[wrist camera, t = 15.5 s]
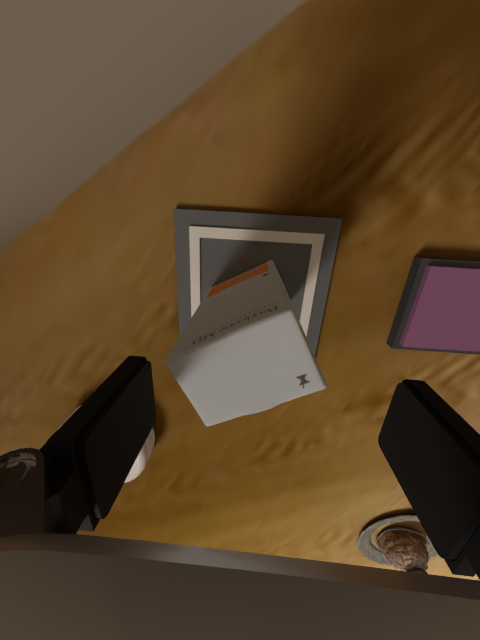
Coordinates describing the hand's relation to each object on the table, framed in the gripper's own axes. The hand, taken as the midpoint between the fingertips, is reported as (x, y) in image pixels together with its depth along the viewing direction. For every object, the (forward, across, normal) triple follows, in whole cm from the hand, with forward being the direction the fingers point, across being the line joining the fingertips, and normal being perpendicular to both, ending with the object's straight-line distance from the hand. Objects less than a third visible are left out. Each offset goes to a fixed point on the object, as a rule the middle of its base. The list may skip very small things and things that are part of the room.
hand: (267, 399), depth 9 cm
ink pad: (+14, -17, 0) cm, 22 cm away
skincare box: (+13, +1, 0) cm, 13 cm away
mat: (+13, +1, 0) cm, 13 cm away
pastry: (+15, -22, +34) cm, 43 cm away
